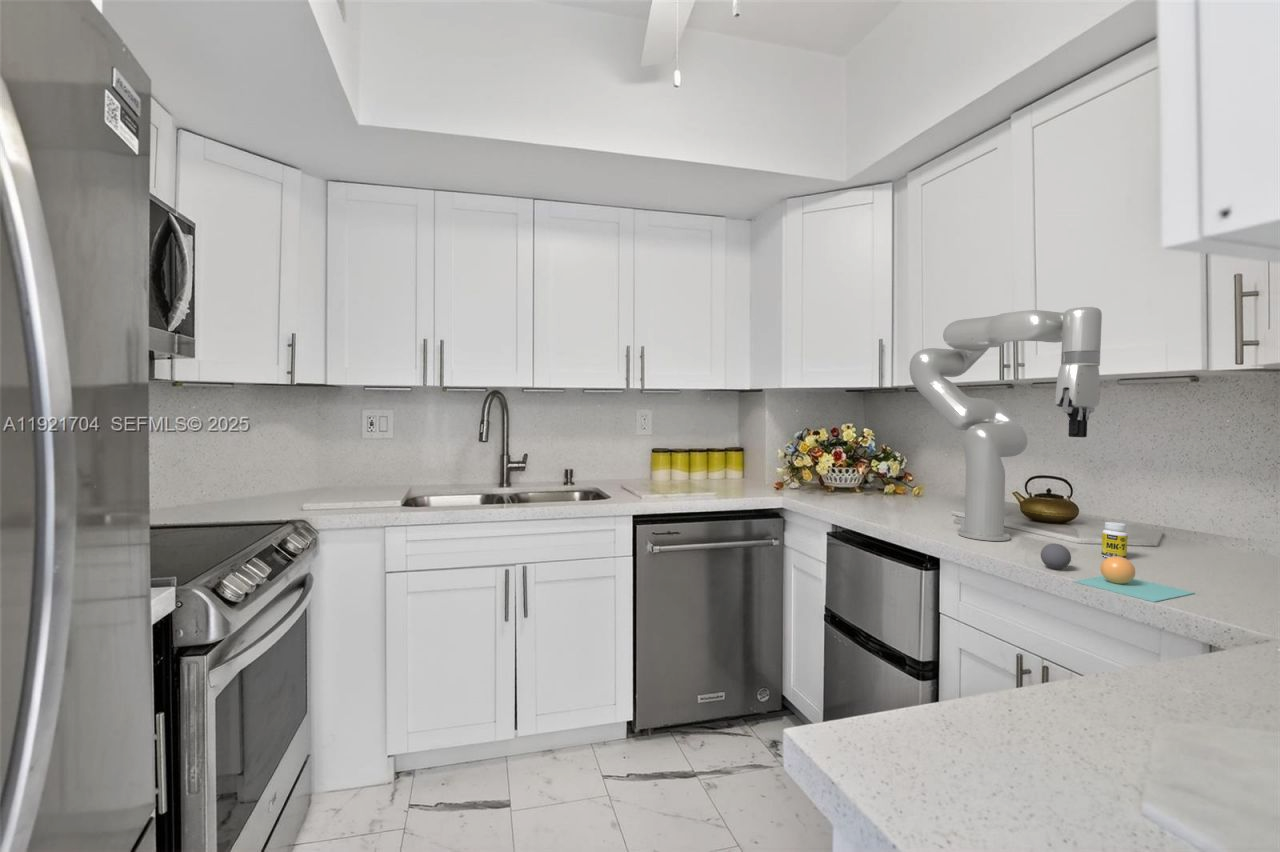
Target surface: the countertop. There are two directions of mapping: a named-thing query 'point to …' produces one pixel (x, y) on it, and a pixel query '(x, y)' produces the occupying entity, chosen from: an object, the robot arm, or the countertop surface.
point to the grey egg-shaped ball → (1055, 556)
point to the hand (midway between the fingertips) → (1077, 436)
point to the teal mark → (1137, 589)
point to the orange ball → (1117, 570)
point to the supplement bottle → (1114, 540)
